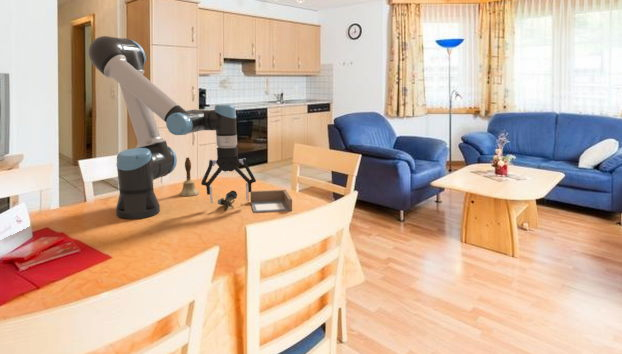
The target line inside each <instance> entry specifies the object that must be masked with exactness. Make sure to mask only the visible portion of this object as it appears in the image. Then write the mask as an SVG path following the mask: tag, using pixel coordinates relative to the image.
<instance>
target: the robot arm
mask: <svg viewBox="0 0 622 354" xmlns="http://www.w3.org/2000/svg"><path fill="white" fill-rule="evenodd" d="M88 57H89V60H90V62H91V64H92V65H93V66H94V68H96V69H97V70H98V71H99V72H100V73H101V74H102V75H104V77H106V78H108V79H109V78H110V79H113V80H114V81H116V82H117V83H118V84H119V87H120V90H121V93H122V96H123V99H124V100H123V101H124V102H125V106H126V109H127V112H128V115H129V119H130V123H131V124H132V127H133V131H134V134H135V137H136V140H137V145H136V146H135V147H134V148H128V149H125V150H124V149H123V150H122V151H120V152H118V154H117V155H116V163H115V164H116V170H117V178H118V179H117V180H118V189H119V196H118V199H117V204H116V207H115V215H116V217H118V218H120V219H124V220H127V219H128V220H130V219H131V220H133V219H136V220H137V219H145V218H149V217H153V216H156V215H157V214H159V213H160V212H161V209H160V208H161V206H160V203H159V200H158V198H157V195H156V192H155V191H154V180H158V179H159V178H162V177H166V176H168V175H169V174H171V173H172V172H173V171H174V170H175V168H176V166H177V162H178V160H177V159H178V157H177V154H176V152H175V151H174V149H172V148H171V147H170V146H169V145H168V143H167V140H166V139H165V138H162V137H161V135H160V134H161V133H160V131H159V128H158V124H157V120H156V119H155V115H157V116H158V117H159V118H160V119H161V120H163V122H165V125H166V128H167V130H168V133H170V134H172V135H175V136H186V135H188V134H191V133H196V132H201V131H215V135H216V136H215V137H216V138H215V139H216V146H217V148H216V156H217V157H216V160H213V159H208V160H209V161H208V166H207V169H206V172H205V173H204V175H203V177H202V180H201V183H200V185H201V186H205V187H206V194H207V195H209V197H210V199H209V200H210V205H212V204H213V203H214V202H213V185H212V184H213V182H214V181H215V179H216V178H217V177H218V176H219V175H220V174H221V172H226V173H227V172H233V171H235V172H236V173H238V174H239V176H240V177H241V178H242V179H243V180H244V181H245V182H246V183H245V190H246V191H245V192H246V193H245V194H246V195H245V196H246V197H245V198H246V199H245V200H246V202H249V201H250V194H249V193H250V192H251V191H252V184H254V183H256V182H257V179H256V177H255V176H254V174H253V172H252V170H251V169H250V167H249V165H248V163H247V159H246V158H245V157H243V158H240V159H239V156H238V155H239V154H238V151H239V150H238V146H237V145H238V132H237V113H236V106H235V105H234V104H216V105H215V106H214V109H210V110H209V109H188V110H186V109H185V108H183V107H182V106H181V105H180V104H178V103H177V102H176V101H174V99H172V98H171V97H170V96H169V95H168V94H166V93H165V92H164V91H162V90H161V88H159V87H158V86H157V85H155V84H154V83H153V82H152V81H151V80H149V79H148V78H147V77H146V76H144V74H145V69H144V67H145V63H146V60H147V57H146V53H145V50H144V48H143V47H142V45H140V44H139V43H138V42H137V41H135V40H133V39H129V38H126V37H125V38H124V37H122V38H120V37H113V36H106V35H103V36H98V37H96V38H95V39H93V40H92V41H91V43H90V44H89V46H88ZM154 114H155V115H154ZM239 164H241V165H243V166H244V168H245V170H246V171H247V174H248V176H249V178H248V176H247V175H246V174H245V173H244V172H243V171H242V170H241V169H240V168H239V167H238V166H239ZM215 165H217V166H218V168H217V169H216V171H215V172H214V173H212V176H211V177H210V178H209V179H208V177H209V175H210V173H211V171H212V169H213V167H214V166H215ZM207 179H208V181H207Z"/></svg>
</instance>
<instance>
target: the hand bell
mask: <svg viewBox="0 0 622 354" xmlns="http://www.w3.org/2000/svg"><path fill="white" fill-rule="evenodd" d="M184 169H185V171H186V179H185V181H183V185H182V189H181V191H179V196H180V197H194V196H198V195H199V194H200V192H199V191H198V190H197V188H196V186H195V185H196V184H195V181H193V180H192V179H191V169H192V162H191V159H190V157H185V162H184Z"/></svg>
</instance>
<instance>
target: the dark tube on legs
mask: <svg viewBox="0 0 622 354" xmlns="http://www.w3.org/2000/svg"><path fill="white" fill-rule="evenodd" d="M237 197H238V193H237V191H236V190H230V191H229V192H228V193H226V195H225V198H224V197H220V198H219V199H218V200H217V205H221V206H222V207H224V208H225V209H224V211H225V212H227V210H228V209H229V207H230V208H232V209H235V207H234V205H233V204H234V202H235V200H236V199H237Z"/></svg>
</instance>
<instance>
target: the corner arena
mask: <svg viewBox="0 0 622 354" xmlns="http://www.w3.org/2000/svg"><path fill="white" fill-rule="evenodd" d="M249 193H250V204H251V207H252V211H253V213H254V214H256V213H274V212H276V213H277V212H292V211H293V198H292V197H291V195H290V194H289V192H288V191H287V190H286V189H276V190H275V189H272V190H271V189H270V190H251V192H249Z"/></svg>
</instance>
